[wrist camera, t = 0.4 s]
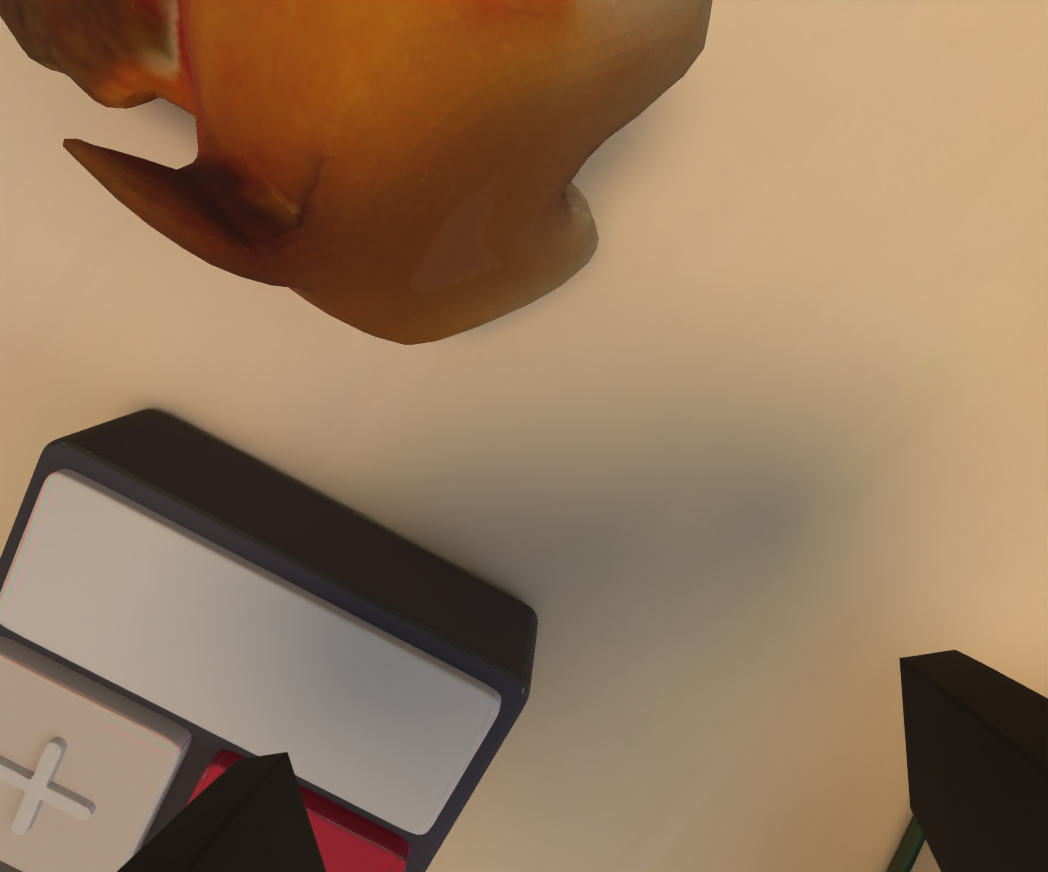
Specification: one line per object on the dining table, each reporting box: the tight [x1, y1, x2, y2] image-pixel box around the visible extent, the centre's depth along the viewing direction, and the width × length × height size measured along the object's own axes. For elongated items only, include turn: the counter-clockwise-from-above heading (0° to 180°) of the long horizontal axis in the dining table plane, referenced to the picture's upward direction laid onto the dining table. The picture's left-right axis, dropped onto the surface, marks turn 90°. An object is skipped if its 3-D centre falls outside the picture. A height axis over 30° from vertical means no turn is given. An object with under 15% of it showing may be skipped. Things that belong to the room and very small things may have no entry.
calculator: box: [0, 409, 538, 872], centre depth 19 cm, size 11×4×15 cm
